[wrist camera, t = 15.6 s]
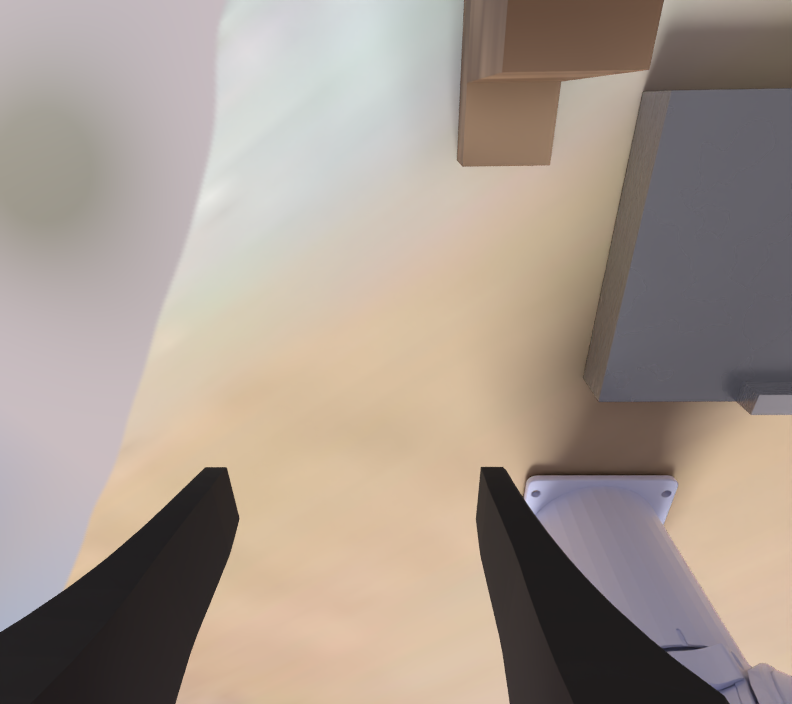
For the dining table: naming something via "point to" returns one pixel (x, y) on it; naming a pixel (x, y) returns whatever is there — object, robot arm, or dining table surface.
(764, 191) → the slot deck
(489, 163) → the tan stepped block
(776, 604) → the dining table surface
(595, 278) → the dining table surface
